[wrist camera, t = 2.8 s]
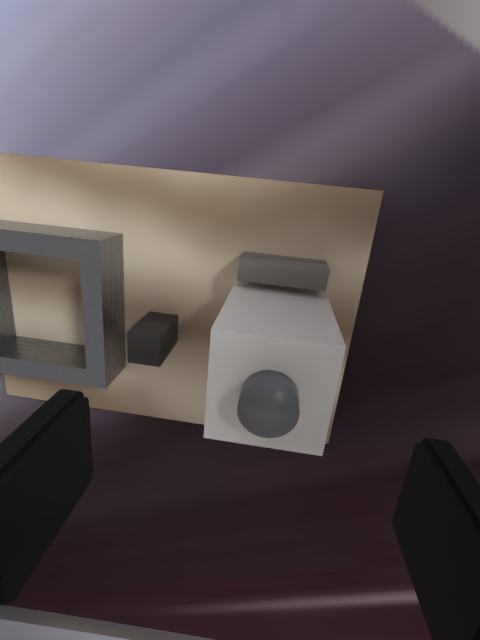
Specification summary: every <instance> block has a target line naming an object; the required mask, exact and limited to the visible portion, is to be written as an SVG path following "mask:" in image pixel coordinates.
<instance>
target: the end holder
mask: <svg viewBox="0 0 480 640" xmlns="http://www.w3.org/2000/svg"><path fill="white" fill-rule="evenodd" d="M5 251H7V252H15V253H23V254H32V255H40V256H48V257H56V258H65V259H73V260H79V265H80V280H81V295H82V311H83V326H84V341H85V345H79V344H72V343H65V342H58V341H50V340H43V339H36V338H29V337H22V336H16V329H15V321H14V314H13V307H12V299H11V292H10V285H9V278H8V270H7V263H6V256H5ZM125 367H126V351H125V305H124V260H123V233H115V232H106V231H97V230H88V229H79V228H70V227H62V226H53V225H44V224H35V223H26V222H17V221H9V220H0V373H2V374H9V375H15V376H22V377H29V378H36V379H42V380H49V381H56V382H62V383H69V384H76V385H83V386H89V387H96V388H103V389H106V388H107V387H108V386H109V385H110V384H111V383H112V382H113V380H114V379H115V378H116V377H117V376H118V375H119V374H120V373H121V371H122V370H123V369H124V368H125Z"/></svg>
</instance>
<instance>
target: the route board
mask: <svg viewBox="0 0 480 640" xmlns="http://www.w3.org/2000/svg"><path fill="white" fill-rule="evenodd" d="M383 192H384V191H382V190H371V189H361V188H351V187H341V186H331V185H320V184H310V183H300V182H290V181H280V180H269V179H259V178H249V177H239V176H229V175H218V174H208V173H198V172H188V171H178V170H167V169H157V168H147V167H137V166H127V165H116V164H106V163H96V162H86V161H76V160H65V159H55V158H45V157H35V156H25V155H14V154H4V153H0V220H9V221H17V222H26V223H35V224H44V225H53V226H62V227H70V228H79V229H88V230H97V231H106V232H115V233H123V260H124V305H125V351H126V367H125V368H124V369H123V370H122V371H121V373H120V374H119V375H118V376H117V377H116V378H115V379H114V380H113V382H112V383H111V384H110V385H109V386H108V387H107V388H106V389H103V388H96V387H89V386H83V385H76V384H69V383H62V382H56V381H49V380H42V379H36V378H29V377H22V376H15V375H9V374H4V379H5V385H6V392H7V395H13V396H20V397H26V398H33V399H40V400H46V401H48V400H49V399H50V398H51V397H52V396H53V395H54V394H55V393H56V392H57V391H59V390H60V389H68V390H75V391H81V392H83V394H84V397H87V398H88V399H89V407H92V408H98V409H105V410H111V411H118V412H125V413H131V414H138V415H144V416H151V417H157V418H164V419H170V420H177V421H183V422H190V423H196V424H203V425H204V422H205V408H206V393H207V379H208V364H209V350H210V335H211V328H212V326H213V324H214V322H215V320H216V318H217V316H218V314H219V313H220V311H221V309H222V307H223V305H224V303H225V301H226V299H227V297H228V295H229V293H230V291H231V290H232V288H233V286H234V284H235V282H236V280H237V281H243V282H252V283H260V284H268V285H277V286H285V287H293V288H301V289H310V290H318V291H326V294H327V297H328V299H329V302H330V305H331V307H332V310H333V313H334V316H335V318H336V321H337V324H338V326H339V329H340V332H341V334H342V337H343V340H344V343H345V345H346V349H345V354H344V358H343V363H342V368H341V372H340V377H339V381H338V386H337V391H336V395H335V400H334V405H333V409H332V414H331V418H330V423H329V428H328V432H327V437H326V442H325V443H327V444H328V442H329V438H330V433H331V428H332V424H333V419H334V415H335V410H336V406H337V401H338V397H339V392H340V387H341V383H342V378H343V374H344V369H345V365H346V360H347V356H348V351H349V347H350V342H351V337H352V333H353V328H354V324H355V319H356V315H357V310H358V306H359V301H360V296H361V292H362V287H363V283H364V278H365V274H366V269H367V265H368V260H369V256H370V251H371V246H372V242H373V237H374V233H375V228H376V224H377V219H378V215H379V210H380V205H381V201H382V196H383ZM5 256H6V263H7V270H8V278H9V285H10V292H11V299H12V307H13V314H14V321H15V329H16V336H22V337H29V338H36V339H43V340H50V341H58V342H65V343H72V344H79V345H85V341H84V326H83V311H82V295H81V280H80V265H79V260H73V259H65V258H56V257H48V256H40V255H32V254H23V253H15V252H7V251H5Z"/></svg>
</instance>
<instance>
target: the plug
mask: <svg viewBox="0 0 480 640" xmlns="http://www.w3.org/2000/svg"><path fill="white" fill-rule="evenodd" d="M345 349H346V345H345V343H344V340H343V337H342V334H341V332H340V329H339V326H338V324H337V321H336V318H335V316H334V313H333V310H332V307H331V305H330V302H329V299H328V297H327V294H326V291H318V290H310V289H301V288H293V287H285V286H277V285H268V284H260V283H252V282H243V281H237V280H236V282H235V284H234V286H233V288H232V290H231V291H230V293H229V295H228V297H227V299H226V301H225V303H224V305H223V307H222V309H221V311H220V313H219V314H218V316H217V318H216V320H215V322H214V324H213V326H212V328H211V335H210V350H209V364H208V379H207V393H206V408H205V422H204V437H203V438H208V439H215V440H221V441H228V442H234V443H240V444H247V445H253V446H260V447H266V448H273V449H279V450H285V451H292V452H298V453H305V454H311V455H317V456H322V455H323V451H324V446H325V442H326V437H327V432H328V428H329V423H330V418H331V414H332V409H333V405H334V400H335V395H336V391H337V386H338V381H339V377H340V372H341V368H342V363H343V358H344V354H345Z"/></svg>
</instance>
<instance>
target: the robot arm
mask: <svg viewBox="0 0 480 640" xmlns="http://www.w3.org/2000/svg"><path fill="white" fill-rule="evenodd" d="M92 473H93V467H92V448H91V429H90V410H89V399H88V398H87V397H84V394H83V392H81V391H75V390H68V389H60V390H59V391H57V392H56V393H55V394H54V395H53V396H52V397H51V398H50V399H49V400H48V401H46V402H45V403H44V404H43V405H42V406H41V407H40V408H39V409H38V410H37V411H35V412H34V413H33V414H32V415H31V416H30V417H29V418H28V419H27V420H26V421H24V422H23V423H22V424H21V425H20V426H19V427H18V428H17V429H16V430H15V431H14V432H12V433H11V434H10V435H9V436H8V437H7V438H6V439H5V440H4V441H3V442H1V443H0V640H213V639H208V638H202V637H196V636H190V635H184V634H178V633H172V632H166V631H161V630H155V629H149V628H143V627H137V626H131V625H124V624H118V623H112V622H106V621H100V620H94V619H88V618H82V617H76V616H70V615H64V614H58V613H52V612H46V611H39V610H33V609H26V608H19V607H12V606H5V604H8V605H9V604H11V603H12V602H13V601H14V600H15V598H16V597H17V596H18V594H19V593H20V591H21V589H22V588H23V586H24V585H25V583H26V582H27V580H28V578H29V577H30V575H31V574H32V572H33V571H34V569H35V568H36V566H37V564H38V563H39V561H40V560H41V558H42V557H43V555H44V553H45V552H46V550H47V549H48V547H49V546H50V544H51V543H52V541H53V539H54V538H55V536H56V535H57V533H58V532H59V530H60V529H61V527H62V525H63V524H64V522H65V521H66V519H67V518H68V516H69V514H70V513H71V511H72V510H73V508H74V507H75V505H76V504H77V502H78V500H79V499H80V497H81V496H82V494H83V493H84V491H85V490H86V488H87V486H88V485H89V483H90V481H91V478H92ZM393 528H394V531H395V534H396V537H397V540H398V543H399V546H400V549H401V551H402V554H403V557H404V560H405V563H406V566H407V569H408V572H409V574H410V577H411V580H412V583H413V586H414V589H415V592H416V594H417V597H418V600H419V603H420V606H421V609H422V612H423V615H424V617H425V620H426V623H427V626H428V629H429V632H430V635H431V637H432V640H480V485H479V484H478V482H477V481H476V479H475V478H474V476H473V475H472V473H471V472H470V471H469V469H468V468H467V466H466V465H465V463H464V462H463V460H462V459H461V458H460V456H459V455H458V453H457V452H456V450H455V449H454V448H453V446H452V445H451V443H450V442H448V441H445V440H438V439H430V438H425V439H424V440H423V441H422V443H420V442H418V443H417V444H416V445H415V448H414V451H413V454H412V457H411V460H410V464H409V467H408V470H407V473H406V476H405V480H404V483H403V486H402V489H401V492H400V496H399V499H398V502H397V505H396V508H395V512H394V515H393Z"/></svg>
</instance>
